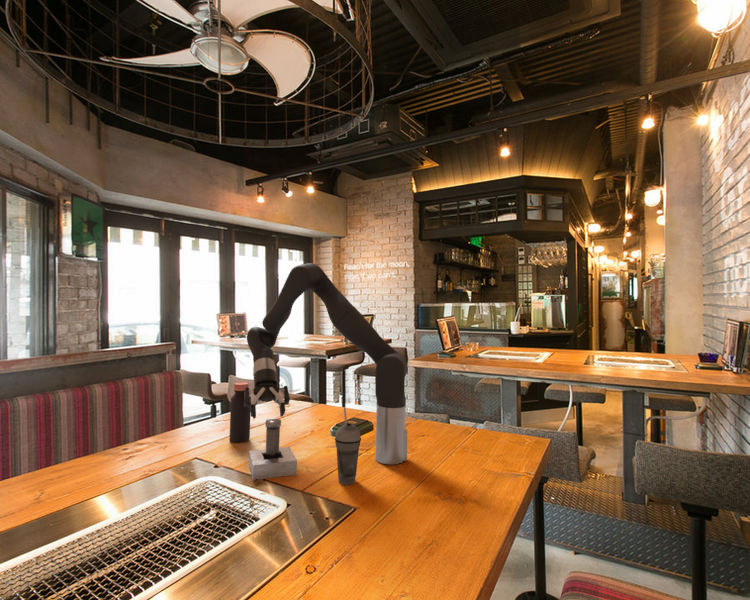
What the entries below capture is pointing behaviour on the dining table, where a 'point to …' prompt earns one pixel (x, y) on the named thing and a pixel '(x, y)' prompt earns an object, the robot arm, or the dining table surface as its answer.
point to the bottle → (239, 415)
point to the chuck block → (272, 464)
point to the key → (272, 438)
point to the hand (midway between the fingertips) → (268, 416)
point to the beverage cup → (347, 452)
